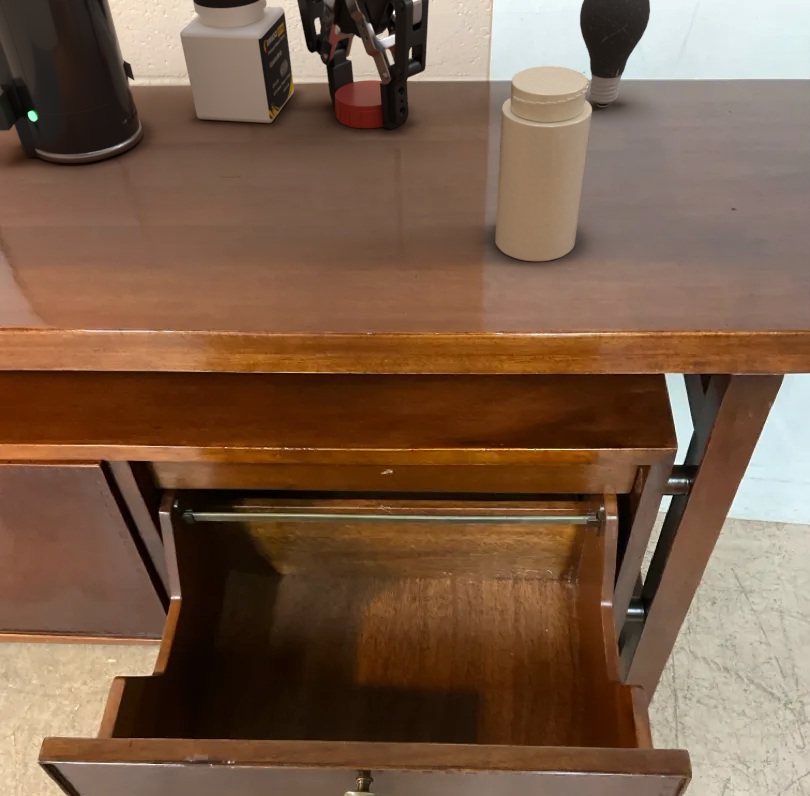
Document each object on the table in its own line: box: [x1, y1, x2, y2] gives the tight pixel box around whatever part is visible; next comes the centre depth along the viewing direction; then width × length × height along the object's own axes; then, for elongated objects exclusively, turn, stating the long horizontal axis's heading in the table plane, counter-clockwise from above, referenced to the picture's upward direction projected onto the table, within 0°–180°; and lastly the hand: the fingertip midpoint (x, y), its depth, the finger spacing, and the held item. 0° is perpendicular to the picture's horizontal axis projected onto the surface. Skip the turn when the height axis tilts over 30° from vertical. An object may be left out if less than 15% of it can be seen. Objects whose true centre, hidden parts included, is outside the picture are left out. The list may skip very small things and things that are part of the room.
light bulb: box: [579, 0, 651, 108], centre depth 71 cm, size 6×6×10 cm
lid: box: [334, 79, 384, 129], centre depth 74 cm, size 6×6×2 cm
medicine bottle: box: [179, 0, 295, 124], centre depth 72 cm, size 7×7×12 cm
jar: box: [494, 65, 593, 262], centre depth 55 cm, size 6×6×11 cm
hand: (368, 115), depth 74 cm, fingers closed on lid, 6 cm apart
